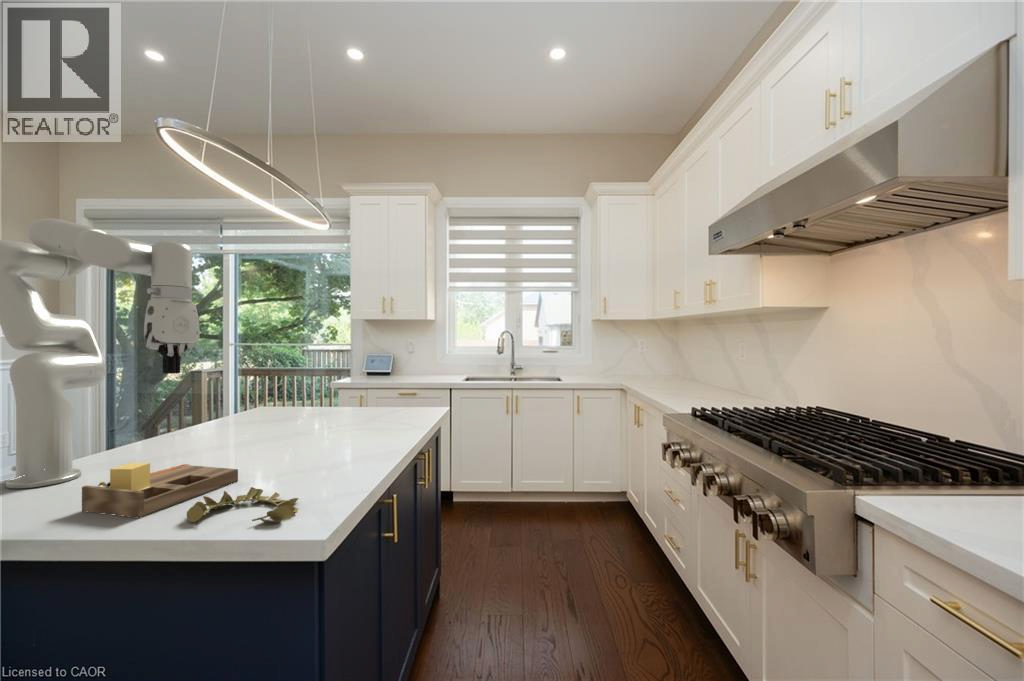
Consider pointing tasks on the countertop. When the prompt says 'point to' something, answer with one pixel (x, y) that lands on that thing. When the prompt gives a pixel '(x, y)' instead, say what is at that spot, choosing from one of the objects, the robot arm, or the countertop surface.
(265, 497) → the headpiece
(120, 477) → the block
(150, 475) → the toy gun
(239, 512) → the countertop surface
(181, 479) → the wooden tray
